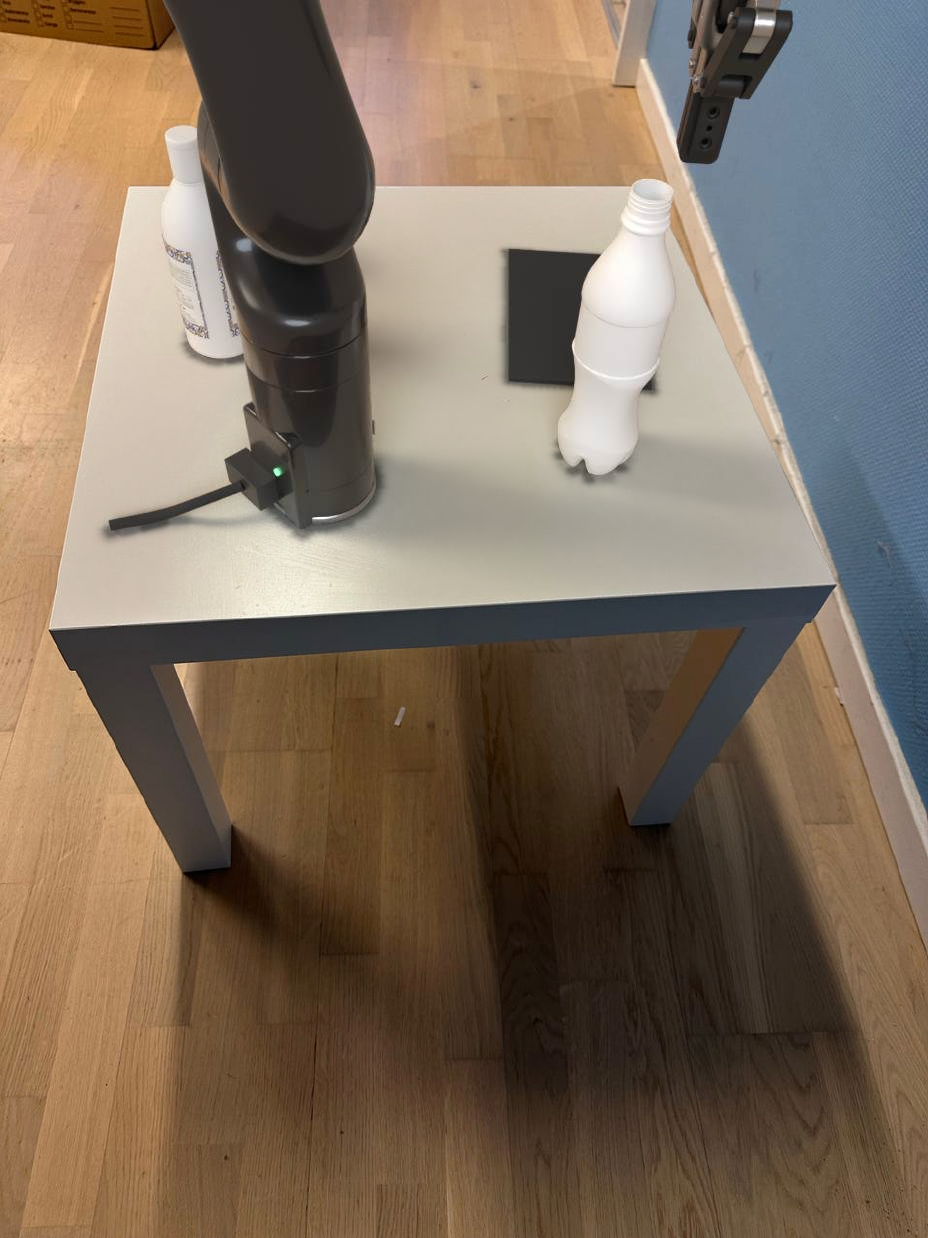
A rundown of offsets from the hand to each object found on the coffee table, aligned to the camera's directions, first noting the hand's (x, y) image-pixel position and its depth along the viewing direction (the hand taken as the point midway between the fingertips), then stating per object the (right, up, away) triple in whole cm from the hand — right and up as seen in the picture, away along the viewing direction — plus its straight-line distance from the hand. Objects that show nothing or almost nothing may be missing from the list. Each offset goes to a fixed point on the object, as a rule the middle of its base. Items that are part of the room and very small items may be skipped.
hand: (695, 155), depth 51 cm
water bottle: (-1, -11, +31) cm, 33 cm away
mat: (-1, +6, +43) cm, 44 cm away
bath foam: (-37, +2, +38) cm, 53 cm away
